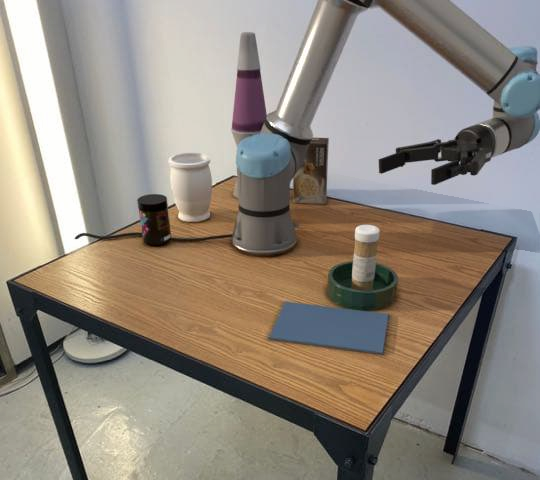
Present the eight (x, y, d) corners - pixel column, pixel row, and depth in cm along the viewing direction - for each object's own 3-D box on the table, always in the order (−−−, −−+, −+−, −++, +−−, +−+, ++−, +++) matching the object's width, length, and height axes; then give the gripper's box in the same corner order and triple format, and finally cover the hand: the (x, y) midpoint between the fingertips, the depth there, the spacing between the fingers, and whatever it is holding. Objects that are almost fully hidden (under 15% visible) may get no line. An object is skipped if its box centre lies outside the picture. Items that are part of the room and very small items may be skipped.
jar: (211, 224, 143) (207, 164, 135) (171, 224, 144) (164, 164, 135) (216, 209, 152) (212, 151, 143) (177, 209, 152) (171, 151, 143)
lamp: (275, 198, 159) (275, 34, 135) (237, 202, 156) (231, 36, 133) (264, 186, 167) (263, 29, 144) (229, 189, 165) (221, 31, 141)
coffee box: (327, 196, 159) (330, 137, 150) (325, 205, 154) (328, 144, 145) (294, 195, 161) (296, 136, 151) (291, 203, 155) (292, 142, 146)
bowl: (322, 306, 110) (323, 288, 108) (332, 274, 121) (334, 257, 118) (392, 314, 107) (395, 296, 105) (397, 281, 118) (400, 264, 116)
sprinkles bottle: (366, 284, 116) (372, 222, 108) (376, 295, 113) (384, 231, 105) (345, 288, 115) (351, 225, 107) (356, 299, 111) (362, 234, 104)
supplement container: (153, 234, 139) (147, 192, 133) (177, 238, 137) (172, 196, 130) (137, 245, 134) (131, 202, 127) (162, 249, 131) (157, 206, 125)
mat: (268, 339, 101) (268, 337, 100) (285, 303, 111) (285, 301, 111) (382, 354, 97) (382, 352, 96) (388, 316, 107) (388, 313, 107)
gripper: (532, 170, 109) (457, 203, 100) (432, 154, 127) (361, 180, 119) (537, 129, 105) (458, 160, 96) (433, 118, 123) (359, 143, 115)
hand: (405, 171), depth 107 cm, fingers open, 13 cm apart
